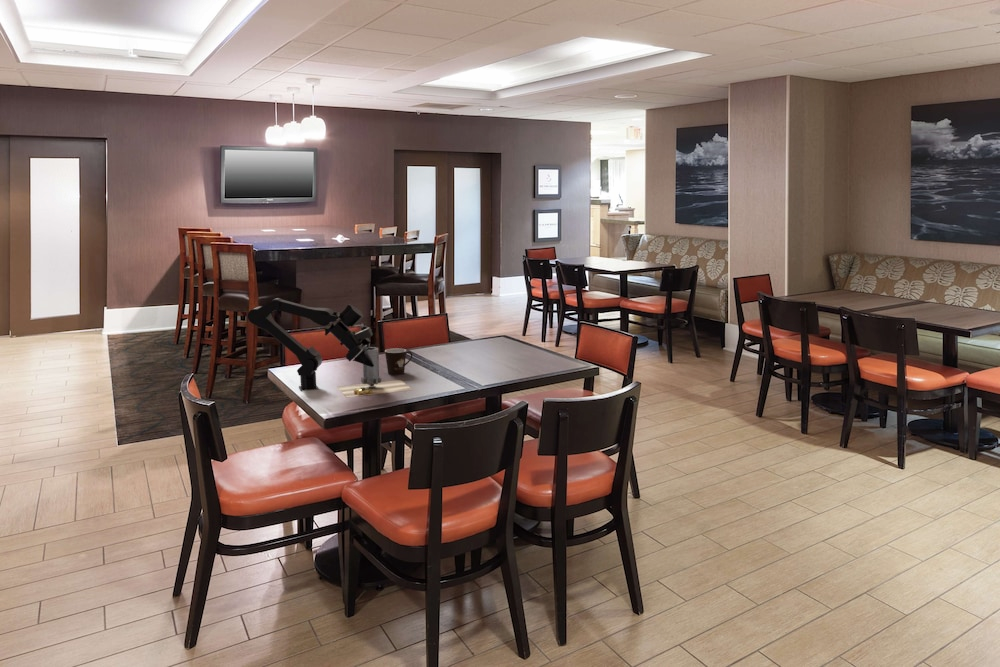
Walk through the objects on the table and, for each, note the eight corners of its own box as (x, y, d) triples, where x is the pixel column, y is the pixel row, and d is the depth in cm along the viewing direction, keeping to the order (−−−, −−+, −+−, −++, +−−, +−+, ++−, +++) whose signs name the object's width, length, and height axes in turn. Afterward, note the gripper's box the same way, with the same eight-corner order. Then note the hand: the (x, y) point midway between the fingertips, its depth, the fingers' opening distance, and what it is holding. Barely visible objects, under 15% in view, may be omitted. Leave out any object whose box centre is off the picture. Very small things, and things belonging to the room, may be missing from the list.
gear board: (337, 388, 284) (337, 386, 283) (400, 381, 294) (400, 380, 293) (346, 398, 269) (346, 397, 269) (413, 391, 279) (413, 389, 279)
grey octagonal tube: (359, 384, 278) (358, 350, 276) (363, 379, 286) (362, 346, 283) (379, 385, 278) (378, 350, 276) (382, 380, 285) (382, 346, 283)
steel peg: (367, 387, 283) (367, 377, 282) (374, 386, 284) (374, 377, 283) (369, 388, 280) (368, 379, 280) (376, 388, 282) (376, 378, 281)
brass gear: (352, 391, 277) (351, 386, 276) (369, 389, 279) (369, 384, 279) (356, 396, 271) (356, 391, 270) (374, 394, 273) (374, 389, 273)
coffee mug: (386, 377, 299) (386, 353, 298) (384, 372, 308) (383, 349, 306) (415, 375, 302) (415, 351, 301) (412, 371, 311) (411, 347, 309)
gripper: (354, 324, 268) (385, 355, 270) (364, 316, 287) (393, 344, 288) (332, 346, 270) (364, 376, 272) (344, 336, 288) (373, 364, 290)
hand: (374, 364), depth 280 cm, fingers closed on grey octagonal tube, 5 cm apart
